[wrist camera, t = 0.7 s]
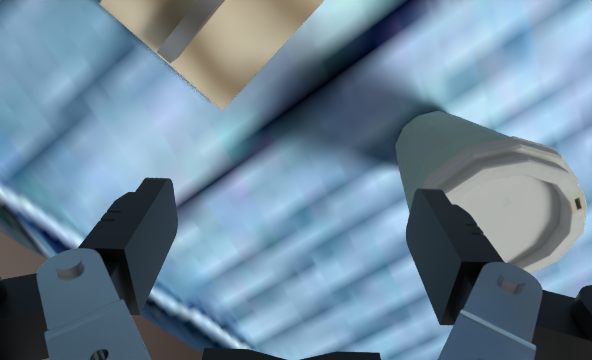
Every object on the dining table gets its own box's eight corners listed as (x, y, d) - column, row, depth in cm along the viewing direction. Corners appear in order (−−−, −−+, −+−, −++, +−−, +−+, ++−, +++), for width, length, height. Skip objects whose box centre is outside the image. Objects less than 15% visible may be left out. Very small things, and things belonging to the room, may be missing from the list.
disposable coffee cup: (396, 203, 39) (450, 317, 26) (353, 118, 35) (393, 206, 22) (495, 158, 37) (610, 259, 24) (463, 61, 32) (584, 119, 19)
